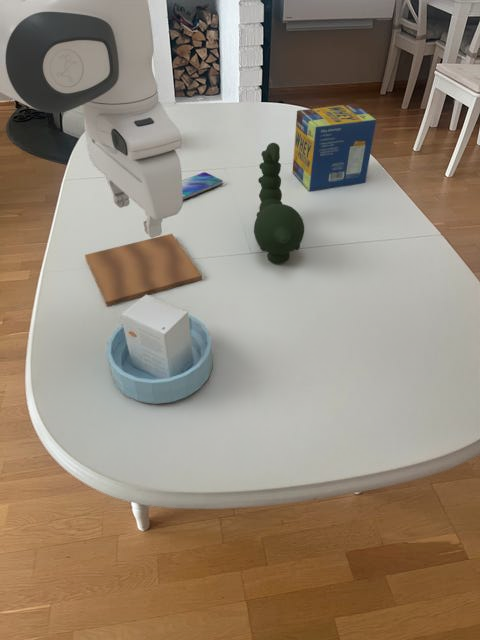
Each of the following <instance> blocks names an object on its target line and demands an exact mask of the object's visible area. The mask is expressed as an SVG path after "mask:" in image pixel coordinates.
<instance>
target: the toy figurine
mask: <svg viewBox="0 0 480 640" xmlns="http://www.w3.org/2000/svg"><path fill="white" fill-rule="evenodd" d="M280 150H281V149H280V145H279V144H278V143H276V142H270V143H269V144H268V145H267V146H266V149H265V150H262V151H261V157H262V162H260V163H259V166H258V167H259V169H260V170H261V174H262V176H259V178H258V179H257V180H258V183H259V184H260V188H261V189H260V191H259V194H258V197H259V200H260V202H261V203H260V204H259V209H258V212H257V213H256V219H255V221H254V225H253V233H254V239H255V241H256V243H257V244H258V246H259V249H260V250H261V251H262V252H266V253H267V254H266V255H267V256H266V257H267V260H268V261H269V262H270V263H272V264H275V265H277V264H280V265H281V264H284V263H287V262H288V261H289V260H290V257H291V255H290V254H291V252H294V251H298V250H300V248H301V243H302V241H303V240H304V235H305V222H304V219H303V218H302V216H301V214H300V213H299V211H297V210H296V209H295V208H294V207H292V206H290V205H288V204H283V202H282V197H283V193H282V189H281V185H282V178H281V176H280V173H281V168H282V164H281V163H280V162H279V161H280V158H281V154H280Z"/></svg>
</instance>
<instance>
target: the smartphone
mask: <svg viewBox="0 0 480 640" xmlns="http://www.w3.org/2000/svg"><path fill="white" fill-rule="evenodd" d="M222 184H223V179H221V178H219V177H216V176H214V175H212V174H210V173H208V172H206V171H205V172H203V171H202V172H200V173H198V174H196V175H193V176H191V177H188V178H185V179H182V194H183V201H184V200H186V199H188V198H191V197H194V196H196V195H199V194H201V193H203V192H206V191H209V190H211V189H214V188H216V187H219V186H221V185H222Z"/></svg>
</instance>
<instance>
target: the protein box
mask: <svg viewBox="0 0 480 640" xmlns="http://www.w3.org/2000/svg"><path fill="white" fill-rule="evenodd" d="M295 120H296V121H295V135H294V149H293V159H292V174H293V175H294V176H295V177H296V178H297V180H298V182H300V183H301V184H302V185H303V187H305V189H306V190H307V191H308V192H313V191H320V190H325V189H332V188H339V187H345V186H352V185H358V184H364V183H366V181H367V175H368V169H369V164H370V158H371V153H372V147H373V142H374V136H375V130H376V125H377V119H376V118H375V117H374V116H372V115H371V114H369V113H368V112H367V111H365V110H364V109H362V107H360V106H358V104H356V103H349V104H342V105H334V106H326V107H325V106H323V107H318V108H309V109H299V110H297V111H296V119H295Z"/></svg>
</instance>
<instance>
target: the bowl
mask: <svg viewBox="0 0 480 640" xmlns="http://www.w3.org/2000/svg"><path fill="white" fill-rule="evenodd" d="M188 315H189V324H190V334H191V343H192V353H193V364H192V365H191V366H190V367H189V368H188V369H187V370H186V371H185V372H184V373H182V374H179V375H177V376H174V377H171V378H166V379H158V378H156V377H154V376H152V375H150V374H148V373H146V372H144V371H142V370H140V369H138V368H136V367H134V366H132V364H131V359H130V355H129V350H128V345H127V341H126V336H125V332H124V327H123V323H122V324H121V325H119V326H118V327H117V328H116V329H115V330H114V331H113V332H112V334H111V336H110V338H109V340H108V342H107V347H106V358H107V363H108V365H109V369H110V374H111V377H112V380H113V383H114V385H115V387H116V388H117V389H118V390H119V391H120V392H121V393H122V394H123V395H125V396H126V397H128V398H129V399H130V398H131V399H133V400H135V401H137V402H140V403H146V404H154V405H158V404H168V403H169V404H170V403H173V402H176V401H179V400H182V399H185V398H189V397H190V396H191V395H192V394H194V393H195V392H196V391H198V390H199V389H201V388H202V387H203V385H204V384H205V383H206V381H207V380H208V379H209V378H210V375H211V371H212V369H213V348H212V347H213V346H212V345H213V344H212V338H211V337H212V336H211V333H210V332H209V330H208V328H207V327H206V325H205V324H204V323H203V322H201V321H200V320H199V319H197V317H195V316H193V315H190V314H188Z"/></svg>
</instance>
